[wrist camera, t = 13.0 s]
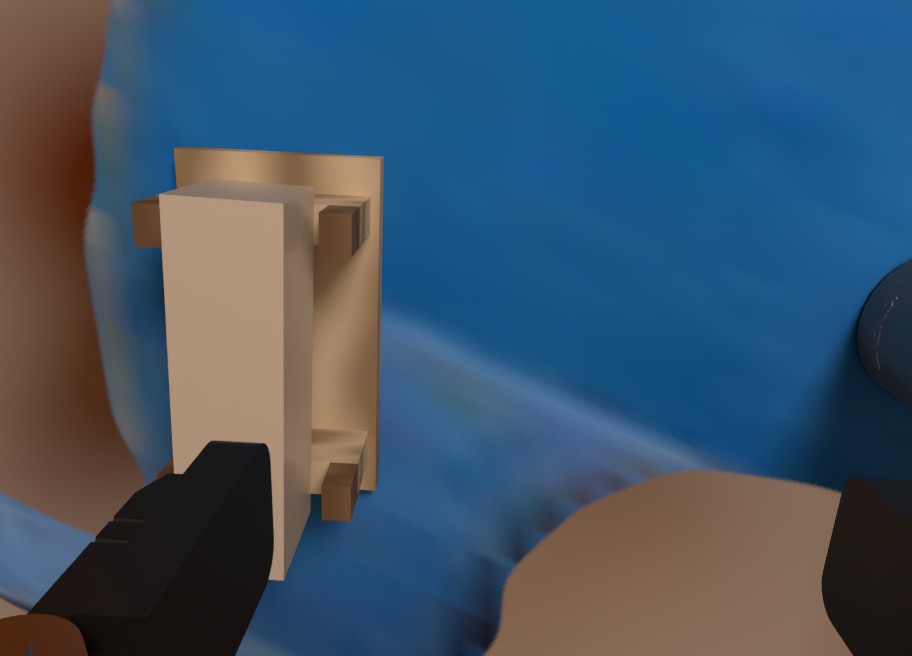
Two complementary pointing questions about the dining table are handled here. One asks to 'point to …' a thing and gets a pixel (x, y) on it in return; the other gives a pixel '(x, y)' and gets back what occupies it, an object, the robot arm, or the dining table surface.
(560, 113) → the dining table surface
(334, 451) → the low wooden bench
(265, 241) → the beige long block
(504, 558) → the dining table surface
